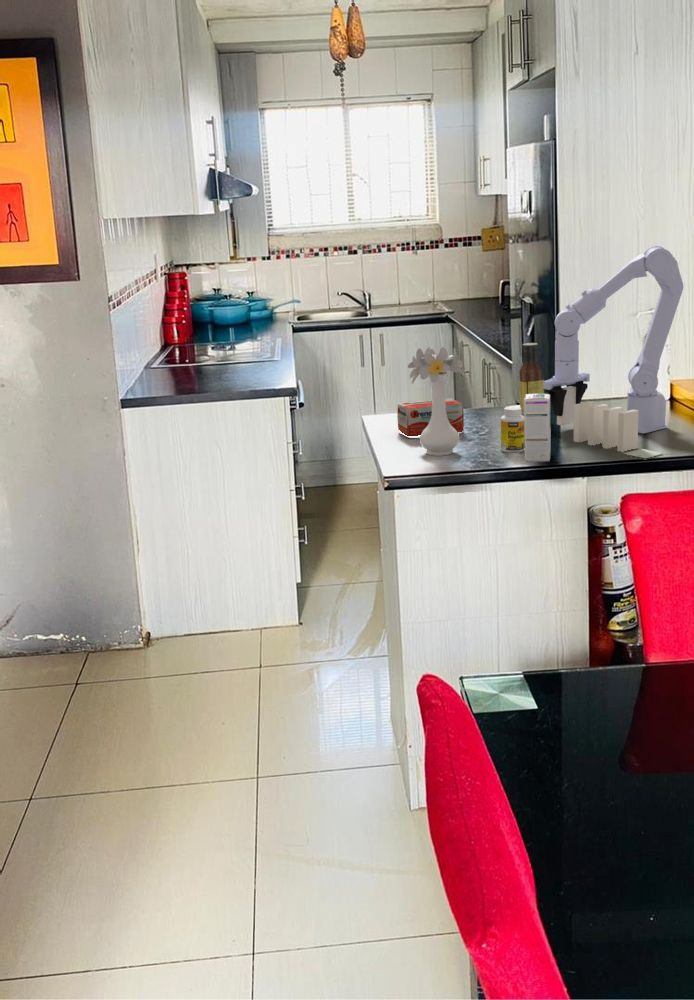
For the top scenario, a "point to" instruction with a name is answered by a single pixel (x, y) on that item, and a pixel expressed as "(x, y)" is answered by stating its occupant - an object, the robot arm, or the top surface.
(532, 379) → the sauce bottle
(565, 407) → the domino
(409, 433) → the medicine box
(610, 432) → the domino
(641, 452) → the felt pad
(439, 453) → the flower vase
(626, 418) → the domino
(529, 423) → the syrup box
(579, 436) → the domino
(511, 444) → the supplement bottle
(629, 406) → the robot arm
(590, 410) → the domino
